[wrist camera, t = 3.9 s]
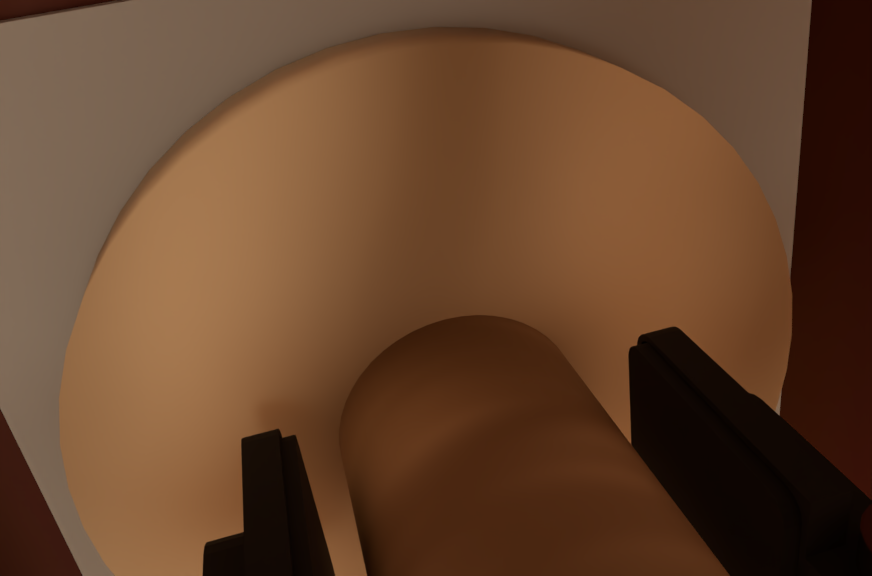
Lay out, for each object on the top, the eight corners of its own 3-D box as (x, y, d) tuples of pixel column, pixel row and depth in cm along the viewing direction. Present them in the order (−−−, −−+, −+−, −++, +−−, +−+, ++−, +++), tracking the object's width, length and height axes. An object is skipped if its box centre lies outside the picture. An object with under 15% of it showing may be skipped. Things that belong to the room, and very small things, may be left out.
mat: (804, -120, 12) (821, -120, 12) (759, 536, 19) (769, 548, 18) (-162, 49, 10) (-176, 53, 10) (163, 719, 17) (162, 736, 16)
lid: (756, -41, 12) (1220, 9, 7) (732, 525, 18) (970, 818, 12) (-60, 119, 10) (-393, 378, 5) (199, 691, 16) (187, 1123, 10)
